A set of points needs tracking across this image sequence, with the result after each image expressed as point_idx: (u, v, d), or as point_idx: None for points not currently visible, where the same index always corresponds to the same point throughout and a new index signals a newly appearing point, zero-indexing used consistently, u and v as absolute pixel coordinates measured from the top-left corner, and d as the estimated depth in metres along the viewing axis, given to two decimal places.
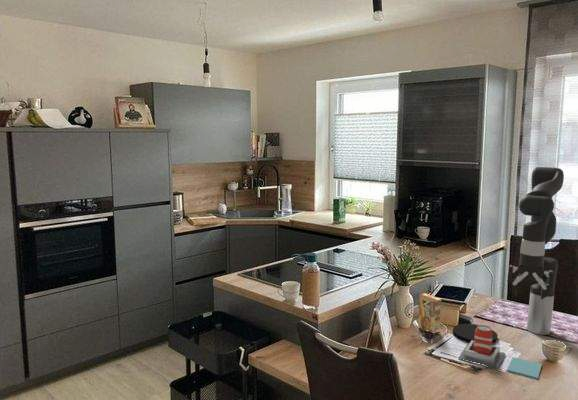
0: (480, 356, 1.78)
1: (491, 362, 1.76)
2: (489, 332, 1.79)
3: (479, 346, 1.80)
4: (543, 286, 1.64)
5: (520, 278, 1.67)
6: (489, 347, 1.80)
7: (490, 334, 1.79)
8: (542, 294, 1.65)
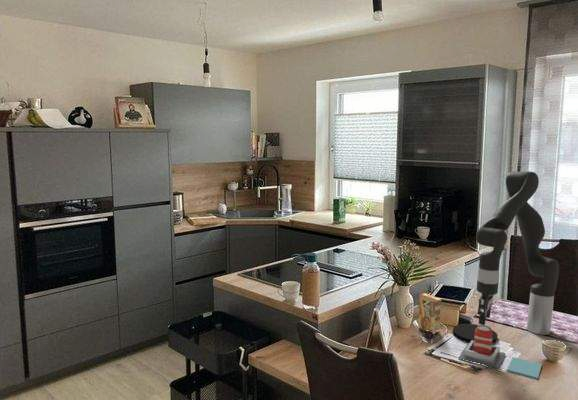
0: (480, 356, 1.78)
1: (491, 362, 1.76)
2: (489, 332, 1.79)
3: (479, 346, 1.80)
4: (491, 306, 1.83)
5: (488, 307, 1.77)
6: (489, 347, 1.80)
7: (490, 334, 1.79)
8: None
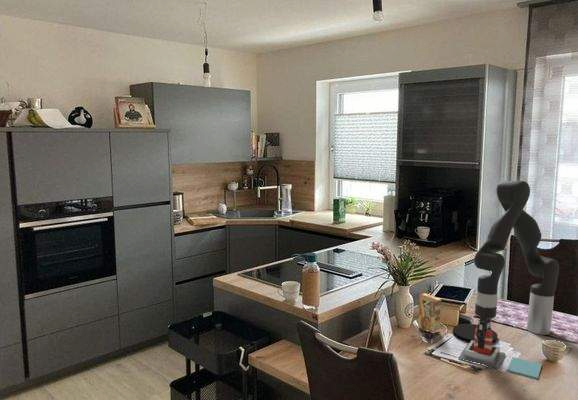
0: (480, 356, 1.78)
1: (491, 362, 1.76)
2: (489, 332, 1.79)
3: None
4: None
5: (487, 330, 1.78)
6: (489, 346, 1.80)
7: (490, 334, 1.79)
8: None
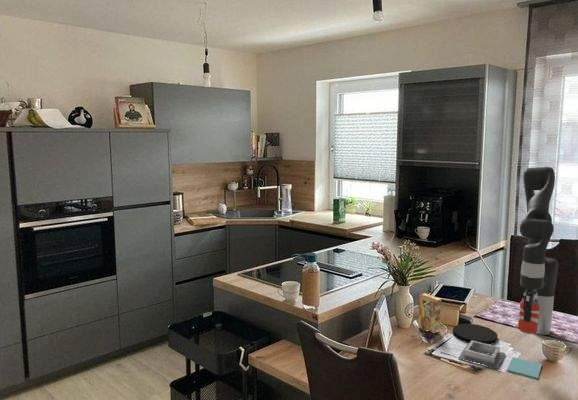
0: (480, 356, 1.78)
1: (491, 362, 1.76)
2: (536, 304, 1.69)
3: None
4: None
5: (534, 302, 1.68)
6: (535, 320, 1.70)
7: (537, 306, 1.69)
8: None
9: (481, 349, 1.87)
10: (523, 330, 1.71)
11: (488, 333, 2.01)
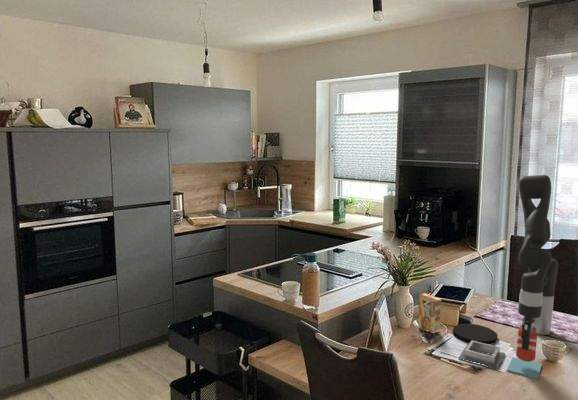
0: (480, 356, 1.78)
1: (491, 362, 1.76)
2: (534, 332, 1.70)
3: None
4: None
5: None
6: (533, 348, 1.71)
7: (535, 334, 1.70)
8: None
9: (481, 349, 1.87)
10: (521, 358, 1.72)
11: (488, 333, 2.01)
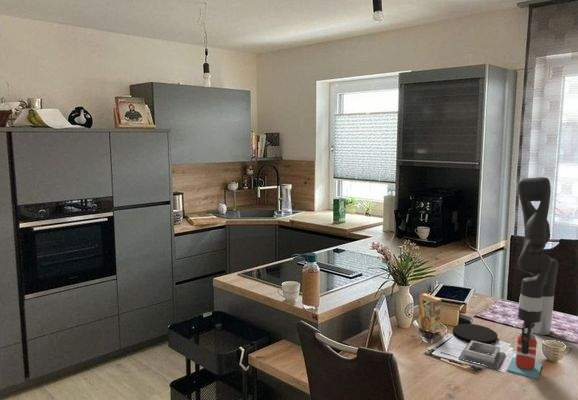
0: (480, 356, 1.78)
1: (491, 362, 1.76)
2: (533, 340, 1.71)
3: (522, 355, 1.72)
4: (532, 333, 1.76)
5: None
6: (533, 356, 1.71)
7: (534, 342, 1.71)
8: None
9: (481, 349, 1.87)
10: (521, 366, 1.73)
11: (488, 333, 2.01)
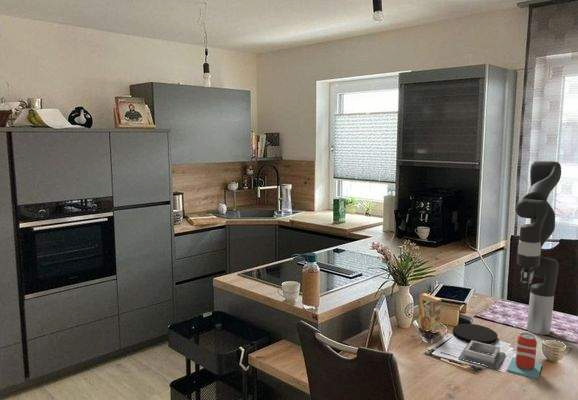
0: (480, 356, 1.78)
1: (491, 362, 1.76)
2: (533, 340, 1.71)
3: (522, 355, 1.72)
4: (531, 279, 1.80)
5: (531, 280, 1.74)
6: (533, 356, 1.71)
7: (534, 342, 1.71)
8: (530, 286, 1.81)
9: (481, 349, 1.87)
10: (521, 366, 1.73)
11: (488, 333, 2.01)
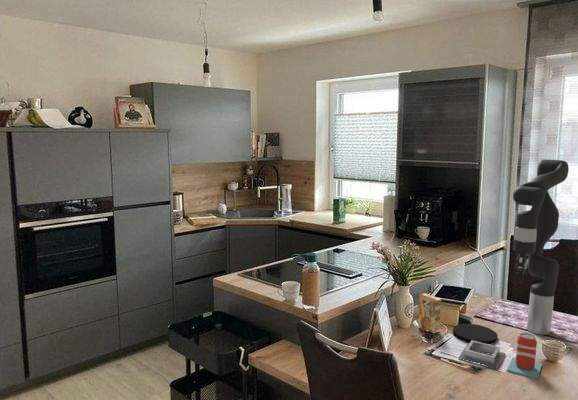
0: (480, 356, 1.78)
1: (491, 362, 1.76)
2: (533, 340, 1.71)
3: (522, 355, 1.72)
4: (527, 265, 1.85)
5: (526, 265, 1.78)
6: (533, 356, 1.71)
7: (534, 342, 1.71)
8: (526, 273, 1.85)
9: (481, 349, 1.87)
10: (521, 366, 1.73)
11: (488, 333, 2.01)
